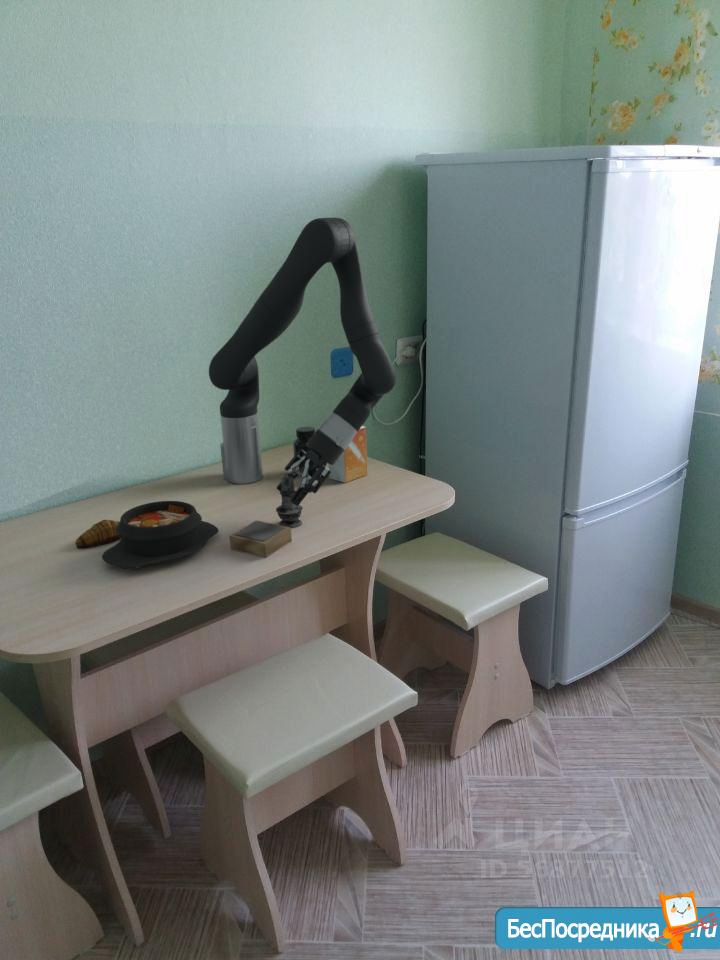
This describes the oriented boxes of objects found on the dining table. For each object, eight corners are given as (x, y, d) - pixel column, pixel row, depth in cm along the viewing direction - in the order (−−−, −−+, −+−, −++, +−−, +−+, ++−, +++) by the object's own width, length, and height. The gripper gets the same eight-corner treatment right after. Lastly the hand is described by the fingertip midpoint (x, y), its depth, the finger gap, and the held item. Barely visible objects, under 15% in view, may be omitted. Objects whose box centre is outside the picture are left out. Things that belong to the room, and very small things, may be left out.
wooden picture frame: (230, 549, 162) (229, 535, 161) (257, 533, 169) (255, 519, 168) (266, 557, 158) (264, 542, 156) (291, 540, 165) (290, 526, 164)
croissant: (83, 555, 163) (79, 533, 161) (70, 545, 168) (67, 524, 166) (143, 536, 171) (140, 515, 169) (130, 527, 176) (127, 507, 174)
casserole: (182, 521, 177) (178, 486, 174) (238, 541, 166) (235, 504, 163) (84, 561, 159) (78, 523, 156) (139, 586, 148) (133, 545, 145)
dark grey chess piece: (305, 518, 176) (302, 467, 172) (301, 529, 171) (297, 477, 166) (279, 518, 177) (275, 468, 173) (274, 529, 171) (270, 477, 167)
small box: (345, 483, 197) (343, 433, 192) (328, 478, 201) (325, 429, 197) (368, 475, 202) (366, 426, 198) (351, 470, 206) (349, 422, 202)
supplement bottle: (289, 474, 205) (286, 430, 201) (307, 467, 210) (305, 423, 206) (308, 479, 201) (305, 434, 196) (326, 472, 205) (324, 427, 201)
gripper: (307, 421, 176) (263, 478, 175) (333, 436, 164) (285, 498, 163) (330, 440, 180) (287, 496, 179) (357, 456, 168) (310, 516, 167)
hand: (286, 497), depth 171 cm, fingers open, 8 cm apart
